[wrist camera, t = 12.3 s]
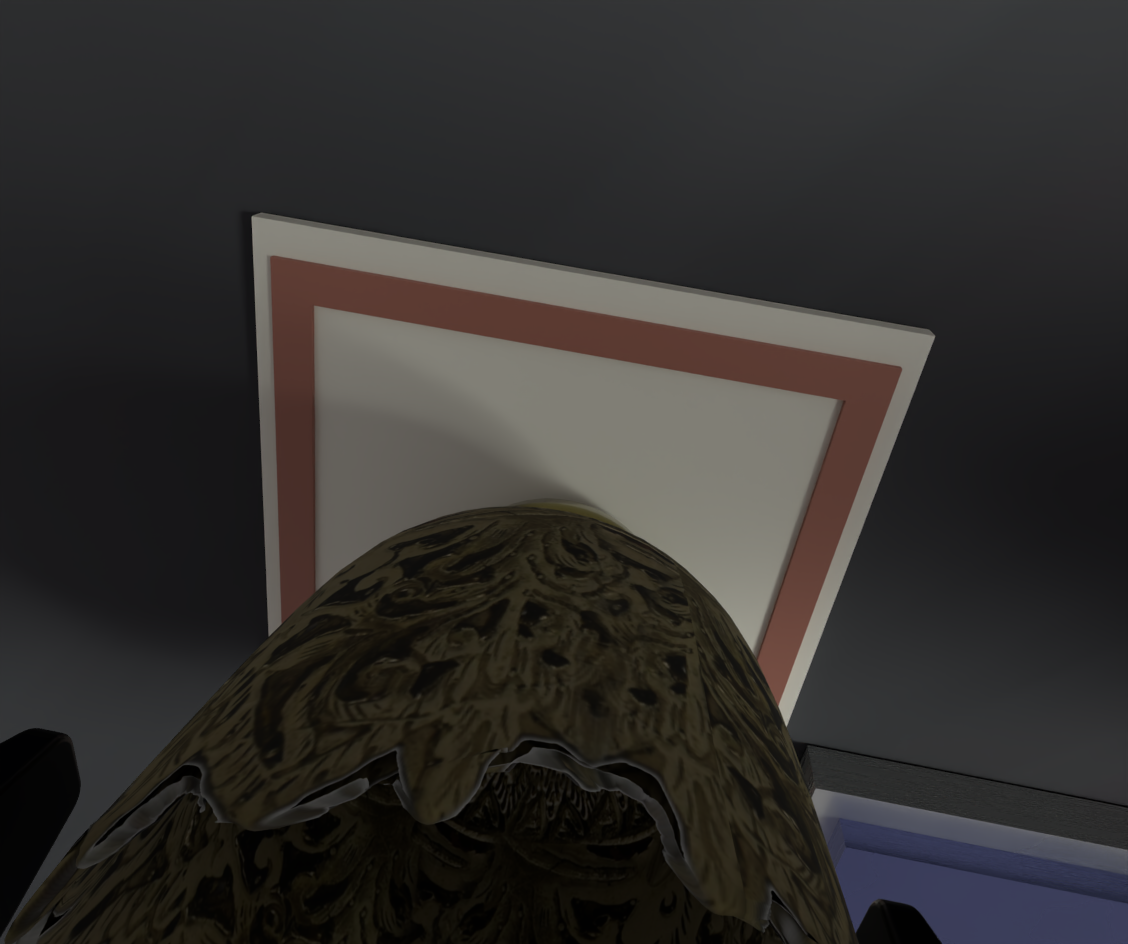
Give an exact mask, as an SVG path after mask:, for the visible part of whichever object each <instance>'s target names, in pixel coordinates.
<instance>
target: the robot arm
mask: <svg viewBox="0 0 1128 944" xmlns="http://www.w3.org/2000/svg"><path fill="white" fill-rule="evenodd" d="M80 787H81V781H80V776H79V771H78V766H77V761H76V756H75V751H74V747H73V742H72V740H71V738H70V737H69V736H68V735H67V734H64V733H60V732H55V731H50V730H45V729H40V728H33V729H28V730H25V731H23V732H21V733H19V734H17V735H15V736H13V737H11V738H10V739H8V740H6V741H4V742H2V743H0V937H1V936H2V934H3V932H4V930H5V929H6V927H7V925H8V924H9V922H10V920H11V919H12V917H13V915H14V913H15V912H16V910H17V908H18V906H19V905H20V903H21V901H22V899H23V897H24V896H25V894H26V892H27V890H28V889H29V887H30V885H31V883H32V881H33V880H34V878H35V876H36V874H37V873H38V871H39V869H40V867H41V865H42V864H43V862H44V860H45V858H46V857H47V855H48V853H49V851H50V849H51V848H52V846H53V844H54V842H55V841H56V839H57V837H58V835H59V833H60V832H61V830H62V828H63V826H64V825H65V823H66V821H67V819H68V817H69V816H70V814H71V812H72V810H73V809H74V807H75V805H76V802H77V800H78V797H79V793H80ZM856 936H857V939H858V942H859V944H942V942H941V941H940V940H939V938H938V937H937V935H936V934H935V933H934V931H933V930H932V928H931V927H930V926H929V924H928V923H927V921H926V920H925V918H924V917H923V916H922V914H921V913H920V912H919V911H918V910H917V909H916V908H914V907H913V906H911V905H908V904H905V903H900V902H895V901H890V900H885V899H877V900H875V901H873V902H872V904H871V905H870V907H869V908H868V910H867V912H866V914H865V916H864V918H863V920H862V922H861V924H860V926H859V927H858V929H857V931H856Z"/></svg>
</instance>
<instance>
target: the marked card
mask: <svg viewBox="0 0 1128 944" xmlns="http://www.w3.org/2000/svg"><path fill="white" fill-rule="evenodd" d="M252 238H253V263H254V288H255V312H256V337H257V361H258V386H259V411H260V435H261V460H262V485H263V509H264V534H265V558H266V583H267V608H268V632H269V636H270V635H271V634H272V633H273V632H274V631H275V630H276V629H277V628H278V627H279V626H280V625H281V624H282V623H283V622H284V621H285V620H286V619H287V618H288V617H289V616H290V615H291V614H292V613H293V612H294V611H295V610H296V609H297V608H298V607H299V606H300V605H302V604H303V603H304V602H305V601H306V600H307V599H308V598H309V597H310V596H311V595H313V594H314V593H315V592H316V591H317V590H318V589H319V588H320V587H322V586H323V585H324V584H325V583H326V582H327V581H328V580H330V579H331V578H332V577H333V576H334V575H335V574H336V573H338V572H339V571H340V570H341V569H343V568H344V567H346V566H347V565H349V564H350V563H351V562H353V561H354V560H356V559H357V558H359V557H360V556H362V555H363V554H365V553H366V552H368V551H369V550H370V549H372V548H373V547H375V546H376V545H378V544H379V543H381V542H382V541H384V540H386V539H388V538H390V537H392V536H394V535H396V534H398V533H400V532H402V531H404V530H407V529H409V528H412V527H415V526H417V525H420V524H423V523H425V522H428V521H431V520H433V519H436V518H439V517H441V516H445V515H449V514H453V513H457V512H461V511H465V510H472V509H480V508H487V507H505V506H508V505H511V504H514V503H517V502H521V501H526V500H532V499H544V498H552V499H564V500H570V501H575V502H579V503H583V504H586V505H589V506H591V507H594V508H597V509H599V510H601V511H603V512H605V513H607V514H608V515H610V516H612V517H613V518H615V519H616V520H618V521H619V522H620V523H622V524H623V525H624V526H626V527H627V528H628V529H629V530H630V531H631V532H632V533H633V534H634V535H635V536H637V537H640V538H642V539H644V540H645V541H647V542H648V543H650V544H652V545H653V546H655V547H657V548H658V549H660V550H661V551H663V552H665V553H666V554H667V555H669V556H670V557H671V558H673V559H674V560H675V561H676V562H678V563H679V564H680V565H682V566H683V567H684V568H685V569H686V570H687V571H688V572H690V573H691V574H692V575H693V576H694V577H695V578H696V579H697V580H698V581H699V582H700V583H701V584H702V585H703V586H704V587H705V588H706V589H707V590H708V591H709V592H710V593H711V594H712V595H713V596H714V597H715V598H716V600H717V601H718V602H719V603H720V604H721V606H722V607H723V608H724V609H725V610H726V612H727V613H728V614H729V615H730V617H731V618H732V620H733V621H734V623H735V625H736V626H737V628H738V629H739V631H740V632H741V634H742V636H743V637H744V639H745V641H746V642H747V644H748V646H749V647H750V649H751V651H752V652H753V654H754V656H755V657H756V659H757V661H758V663H759V665H760V668H761V670H762V672H763V674H764V676H765V678H766V681H767V683H768V685H769V687H770V689H771V692H772V694H773V696H774V698H775V701H776V703H777V705H778V707H779V709H780V712H781V714H782V717H783V719H784V722H785V725H786V727H787V724H788V721H789V719H790V716H791V713H792V711H793V708H794V706H795V703H796V700H797V698H798V695H799V693H800V690H801V687H802V685H803V682H804V679H805V677H806V674H807V672H808V669H809V666H810V664H811V661H812V658H813V656H814V653H815V651H816V648H817V645H818V643H819V640H820V637H821V635H822V632H823V630H824V627H825V624H826V622H827V619H828V616H829V614H830V611H831V609H832V606H833V603H834V601H835V598H836V595H837V593H838V590H839V588H840V585H841V582H842V580H843V577H844V574H845V572H846V569H847V567H848V564H849V561H850V559H851V556H852V554H853V551H854V548H855V546H856V543H857V540H858V538H859V535H860V533H861V530H862V527H863V525H864V522H865V519H866V517H867V514H868V512H869V509H870V506H871V504H872V501H873V498H874V496H875V493H876V491H877V488H878V485H879V483H880V480H881V477H882V475H883V472H884V470H885V467H886V464H887V462H888V459H889V456H890V454H891V451H892V449H893V446H894V443H895V441H896V438H897V435H898V433H899V430H900V428H901V425H902V422H903V420H904V417H905V414H906V412H907V409H908V407H909V404H910V401H911V399H912V396H913V394H914V391H915V388H916V386H917V383H918V380H919V378H920V375H921V373H922V370H923V367H924V365H925V362H926V359H927V357H928V354H929V352H930V349H931V346H932V344H933V341H934V338H935V335H934V334H933V333H932V332H931V331H930V330H929V329H923V328H917V327H912V326H906V325H900V324H895V323H889V322H883V321H877V320H872V319H866V318H860V317H855V316H849V315H843V314H838V313H832V312H826V311H820V310H815V309H809V308H803V307H798V306H792V305H786V304H781V303H775V302H769V301H763V300H758V299H752V298H746V297H741V296H735V295H729V294H724V293H718V292H712V291H706V290H701V289H695V288H689V287H684V286H678V285H672V284H666V283H661V282H655V281H649V280H644V279H638V278H632V277H627V276H621V275H615V274H609V273H604V272H598V271H592V270H587V269H581V268H575V267H570V266H564V265H558V264H552V263H547V262H541V261H535V260H530V259H524V258H518V257H512V256H507V255H501V254H495V253H490V252H484V251H478V250H473V249H467V248H461V247H455V246H450V245H444V244H438V243H433V242H427V241H421V240H416V239H410V238H404V237H398V236H393V235H387V234H381V233H376V232H370V231H364V230H359V229H353V228H347V227H341V226H336V225H330V224H324V223H319V222H313V221H307V220H301V219H296V218H290V217H284V216H279V215H273V214H267V213H262V212H261V213H259V214H256V215H253V216H252Z"/></svg>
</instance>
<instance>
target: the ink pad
mask: <svg viewBox="0 0 1128 944" xmlns="http://www.w3.org/2000/svg"><path fill="white" fill-rule="evenodd" d="M800 766H801V769H802V772H803V775H804V778H805V781H806V784H807V786H808V789H809V792H810V795H811V798H812V801H813V804H814V807H815V810H816V813H817V816H818V819H819V822H820V825H821V828H822V831H823V834H824V837H825V840H826V843H827V846H828V849H829V852H830V855H831V859H832V862H833V865H834V868H835V871H836V874H837V877H838V880H839V883H840V886H841V889H842V892H843V896H844V899H845V902H846V905H847V908H848V911H849V914H850V917H851V920H852V924H853V927H854V930H855V933H856V931H857V929H858V927H859V926H860V924H861V922H862V920H863V918H864V916H865V914H866V912H867V910H868V908H869V907H870V905H871V904H872V902H873V901H875V900H877V899H885V900H890V901H895V902H900V903H905V904H908V905H911V906H913V907H914V908H916V909H917V910H918V911H919V912H920V913H921V914H922V916H923V917H924V918H925V920H926V921H927V923H928V924H929V926H930V927H931V928H932V930H933V931H934V933H935V934H936V935H937V937H938V938H939V940H940V941H941V942H942V944H1128V808H1126V807H1121V806H1116V805H1111V804H1106V803H1101V802H1096V801H1091V800H1086V799H1081V798H1075V797H1070V796H1065V795H1060V794H1055V793H1050V792H1045V791H1040V790H1035V789H1029V788H1024V787H1019V786H1014V785H1009V784H1004V783H999V782H994V781H989V780H984V779H978V778H973V777H968V776H963V775H958V774H953V773H948V772H943V771H938V770H933V769H927V768H922V767H917V766H912V765H907V764H902V763H897V762H892V761H887V760H881V759H876V758H871V757H866V756H861V755H856V754H851V753H846V752H841V751H836V750H830V749H825V748H820V747H815V746H810V745H807V747H806V749H805V752H804V754H803V757H802V759H801V762H800Z"/></svg>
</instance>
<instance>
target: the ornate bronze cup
mask: <svg viewBox="0 0 1128 944" xmlns="http://www.w3.org/2000/svg"><path fill="white" fill-rule="evenodd" d="M17 940H18V941H17ZM16 941H17V943H16V944H859V942H858V939H857V936H856V933H855V930H854V927H853V924H852V920H851V917H850V914H849V911H848V908H847V905H846V902H845V899H844V896H843V892H842V889H841V886H840V883H839V880H838V877H837V874H836V871H835V868H834V865H833V862H832V859H831V855H830V852H829V849H828V846H827V843H826V840H825V837H824V834H823V831H822V828H821V825H820V822H819V819H818V816H817V813H816V810H815V807H814V804H813V801H812V798H811V795H810V792H809V789H808V786H807V784H806V781H805V778H804V775H803V772H802V769H801V766H800V763H799V760H798V757H797V754H796V751H795V749H794V746H793V743H792V741H791V738H790V735H789V733H788V730H787V727H786V725H785V722H784V719H783V717H782V714H781V712H780V709H779V707H778V705H777V703H776V701H775V698H774V696H773V694H772V692H771V689H770V687H769V685H768V683H767V681H766V678H765V676H764V674H763V672H762V670H761V668H760V665H759V663H758V661H757V659H756V657H755V656H754V654H753V652H752V651H751V649H750V647H749V646H748V644H747V642H746V641H745V639H744V637H743V636H742V634H741V632H740V631H739V629H738V628H737V626H736V625H735V623H734V621H733V620H732V618H731V617H730V615H729V614H728V613H727V612H726V610H725V609H724V608H723V607H722V606H721V604H720V603H719V602H718V601H717V600H716V598H715V597H714V596H713V595H712V594H711V593H710V592H709V591H708V590H707V589H706V588H705V587H704V586H703V585H702V584H701V583H700V582H699V581H698V580H697V579H696V578H695V577H694V576H693V575H692V574H691V573H690V572H688V571H687V570H686V569H685V568H684V567H683V566H682V565H680V564H679V563H678V562H676V561H675V560H674V559H673V558H671V557H670V556H669V555H667V554H666V553H665V552H663V551H661V550H660V549H658V548H657V547H655V546H653V545H652V544H650V543H648V542H647V541H645V540H644V539H642V538H640V537H637V536H635V535H634V534H633V533H632V532H631V531H630V530H629V529H628V528H627V527H626V526H624V525H623V524H622V523H620V522H619V521H618V520H616V519H615V518H613V517H612V516H610V515H608V514H607V513H605V512H603V511H601V510H599V509H597V508H594V507H591V506H589V505H586V504H583V503H579V502H575V501H570V500H564V499H552V498H544V499H532V500H526V501H521V502H517V503H514V504H511V505H508V506H505V507H487V508H480V509H472V510H465V511H461V512H457V513H453V514H449V515H445V516H441V517H439V518H436V519H433V520H431V521H428V522H425V523H423V524H420V525H417V526H415V527H412V528H409V529H407V530H404V531H402V532H400V533H398V534H396V535H394V536H392V537H390V538H388V539H386V540H384V541H382V542H381V543H379V544H378V545H376V546H375V547H373V548H372V549H370V550H369V551H368V552H366V553H365V554H363V555H362V556H360V557H359V558H357V559H356V560H354V561H353V562H351V563H350V564H349V565H347V566H346V567H344V568H343V569H341V570H340V571H339V572H338V573H336V574H335V575H334V576H333V577H332V578H331V579H330V580H328V581H327V582H326V583H325V584H324V585H323V586H322V587H320V588H319V589H318V590H317V591H316V592H315V593H314V594H313V595H311V596H310V597H309V598H308V599H307V600H306V601H305V602H304V603H303V604H302V605H300V606H299V607H298V608H297V609H296V610H295V611H294V612H293V613H292V614H291V615H290V616H289V617H288V618H287V619H286V620H285V621H284V622H283V623H282V624H281V625H280V626H279V627H278V628H277V629H276V630H275V631H274V632H273V633H272V634H271V635H270V636H269V637H268V638H267V639H266V640H265V641H264V642H263V643H262V644H261V645H260V646H259V648H258V649H257V650H256V651H255V652H254V653H253V654H252V655H251V656H250V657H249V658H248V659H247V660H246V661H245V662H244V663H243V664H242V665H241V666H240V668H239V669H238V670H237V671H236V672H235V673H234V674H233V675H232V676H231V677H230V678H229V679H228V680H227V681H226V682H225V684H224V685H223V686H222V687H221V688H220V689H219V690H218V691H217V692H216V693H215V694H214V695H213V696H212V697H211V698H210V700H209V701H208V702H207V703H206V704H205V705H204V706H203V707H202V708H201V709H200V710H199V711H198V712H197V714H196V715H195V716H194V717H193V718H192V719H191V720H190V721H189V722H188V723H187V724H186V725H185V726H184V728H183V729H182V730H181V731H180V732H179V733H178V734H177V735H176V736H175V737H174V738H173V739H172V741H171V742H170V743H169V744H168V745H167V746H166V747H165V748H164V749H163V750H162V751H161V752H160V754H159V755H158V756H157V757H156V758H155V759H154V760H153V761H152V762H151V763H150V764H149V766H148V767H147V768H146V769H145V770H144V771H143V772H142V773H141V774H140V775H139V776H138V777H137V779H136V780H135V781H134V782H133V783H132V784H131V785H130V786H129V787H128V788H127V789H126V790H125V792H124V793H123V794H122V795H121V796H120V797H119V798H118V799H117V800H116V801H115V802H114V803H113V805H112V806H111V807H110V808H109V809H108V810H107V811H106V812H105V813H104V814H103V815H102V816H101V817H100V818H99V819H98V820H97V821H96V822H94V823H93V824H92V825H90V828H89V829H88V830H86V831H85V833H84V834H83V835H82V836H81V837H80V838H79V839H78V840H77V841H76V842H75V844H74V845H73V846H72V848H71V849H70V850H69V851H68V853H67V854H66V855H65V857H64V858H63V859H62V860H61V862H60V863H59V864H58V865H57V867H56V868H55V869H54V870H53V871H52V873H51V874H50V875H49V876H48V878H47V879H46V880H45V881H44V882H43V884H42V885H41V886H40V887H39V888H38V890H37V891H36V892H35V893H34V895H33V896H32V897H31V899H30V900H29V901H28V902H27V904H26V905H25V906H24V908H23V909H22V910H21V912H20V913H19V915H18V916H17V918H16V919H15V920H14V922H13V923H12V925H11V927H10V929H9V931H8V933H7V935H6V938H5V944H13V943H14V942H16Z"/></svg>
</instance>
